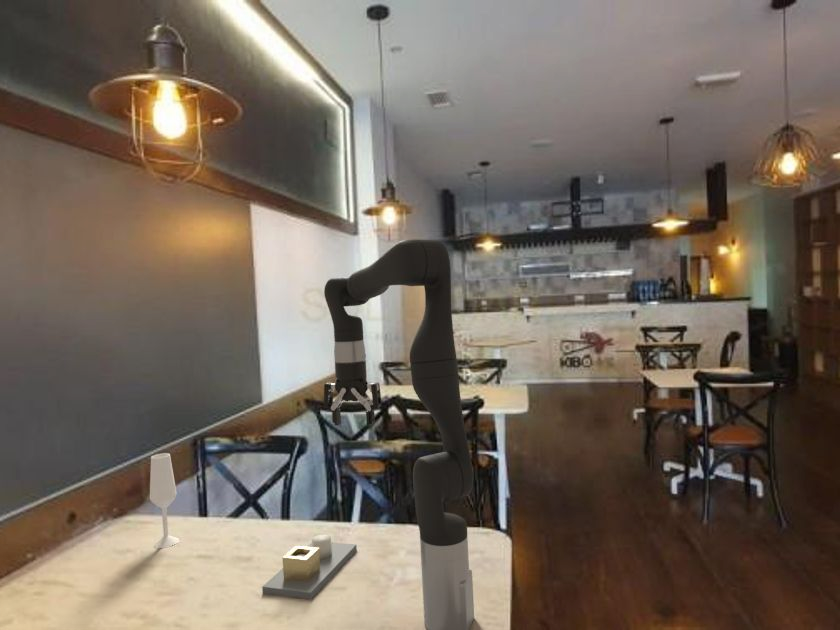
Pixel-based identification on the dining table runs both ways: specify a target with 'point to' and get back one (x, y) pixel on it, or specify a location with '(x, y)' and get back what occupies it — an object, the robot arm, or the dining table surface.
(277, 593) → the stub plate
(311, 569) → the hollow square frame
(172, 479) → the champagne flute
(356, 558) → the dining table surface
